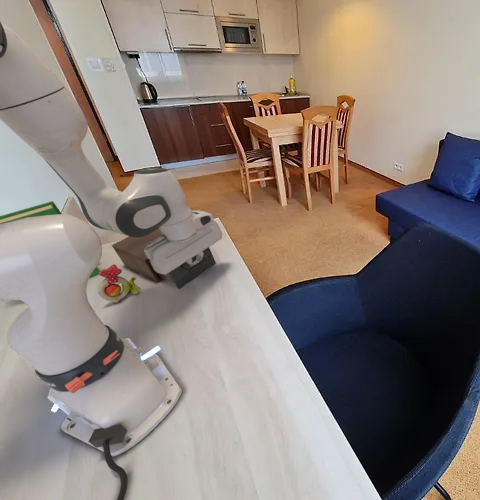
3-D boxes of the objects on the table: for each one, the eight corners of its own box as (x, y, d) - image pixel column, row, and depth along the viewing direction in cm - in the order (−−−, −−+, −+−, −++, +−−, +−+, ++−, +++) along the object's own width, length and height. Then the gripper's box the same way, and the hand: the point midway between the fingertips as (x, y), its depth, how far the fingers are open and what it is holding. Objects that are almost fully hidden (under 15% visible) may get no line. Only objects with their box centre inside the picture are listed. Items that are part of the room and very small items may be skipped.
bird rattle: (126, 310, 87) (149, 284, 90) (88, 294, 78) (114, 266, 81) (117, 302, 90) (140, 277, 93) (79, 286, 81) (105, 259, 85)
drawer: (226, 267, 95) (219, 250, 91) (189, 294, 86) (179, 276, 82) (181, 250, 105) (173, 233, 102) (144, 272, 96) (134, 255, 92)
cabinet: (198, 256, 103) (188, 235, 98) (157, 282, 93) (144, 260, 88) (165, 243, 112) (154, 223, 107) (125, 266, 102) (111, 245, 97)
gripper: (148, 250, 72) (172, 292, 80) (217, 211, 86) (232, 251, 94) (134, 244, 75) (159, 285, 83) (202, 208, 89) (218, 246, 97)
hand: (198, 267), depth 89 cm, fingers closed
